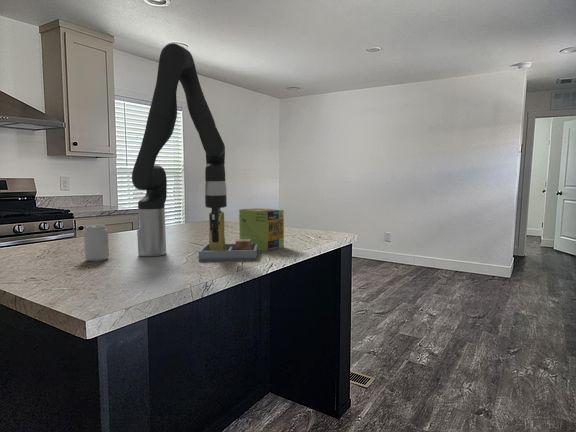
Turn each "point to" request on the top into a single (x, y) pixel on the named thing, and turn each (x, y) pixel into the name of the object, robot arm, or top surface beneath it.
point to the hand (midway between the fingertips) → (216, 240)
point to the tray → (228, 253)
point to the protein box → (262, 227)
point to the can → (96, 243)
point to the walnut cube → (243, 244)
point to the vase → (221, 243)
